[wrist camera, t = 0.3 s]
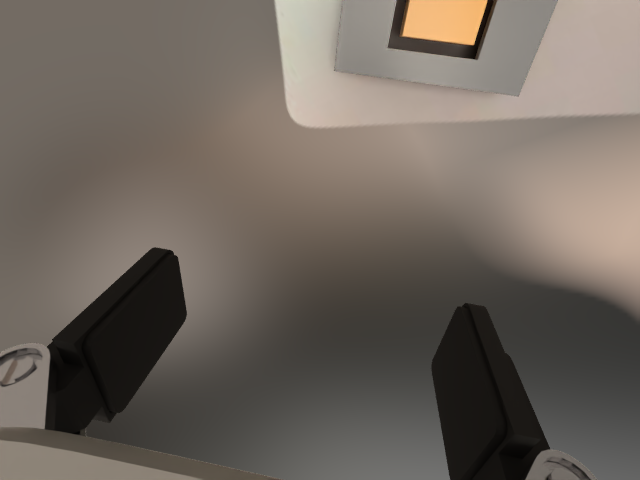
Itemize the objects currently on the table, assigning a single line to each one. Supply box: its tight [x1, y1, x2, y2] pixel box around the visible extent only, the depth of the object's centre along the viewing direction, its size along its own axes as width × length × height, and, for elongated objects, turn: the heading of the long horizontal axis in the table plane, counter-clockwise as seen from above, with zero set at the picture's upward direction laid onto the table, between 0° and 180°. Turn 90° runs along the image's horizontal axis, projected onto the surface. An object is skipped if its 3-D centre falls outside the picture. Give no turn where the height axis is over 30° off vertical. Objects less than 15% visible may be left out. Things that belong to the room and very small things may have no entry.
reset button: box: [399, 0, 488, 45], centre depth 26 cm, size 6×6×4 cm
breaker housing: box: [334, 0, 558, 97], centre depth 27 cm, size 12×16×6 cm
